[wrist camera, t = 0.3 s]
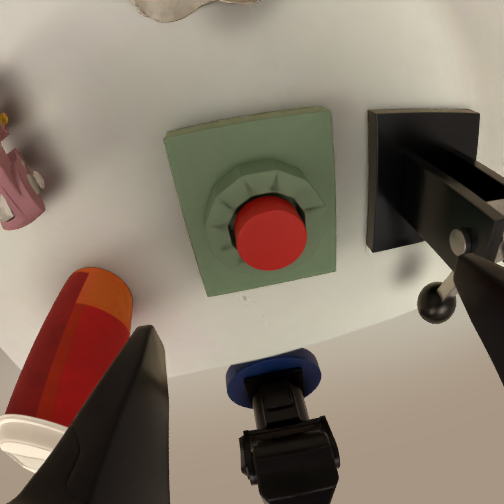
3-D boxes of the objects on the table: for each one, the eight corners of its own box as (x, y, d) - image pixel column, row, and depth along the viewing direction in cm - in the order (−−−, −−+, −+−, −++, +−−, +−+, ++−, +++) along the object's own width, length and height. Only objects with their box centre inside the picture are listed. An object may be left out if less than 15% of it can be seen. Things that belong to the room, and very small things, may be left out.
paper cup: (67, 327, 24) (29, 477, 13) (43, 253, 20) (-35, 422, 9) (152, 332, 26) (143, 497, 14) (143, 255, 21) (110, 457, 10)
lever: (437, 289, 24) (451, 323, 22) (406, 298, 24) (419, 334, 22) (507, 191, 14) (535, 237, 12) (471, 197, 14) (501, 248, 12)
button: (301, 246, 19) (309, 263, 17) (239, 258, 19) (242, 277, 17) (296, 189, 17) (305, 204, 15) (228, 202, 17) (230, 218, 15)
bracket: (456, 224, 24) (528, 298, 16) (365, 244, 23) (431, 341, 15) (469, 109, 18) (573, 159, 10) (367, 110, 18) (476, 165, 10)
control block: (328, 257, 24) (345, 288, 21) (206, 281, 23) (208, 316, 20) (321, 105, 17) (344, 117, 14) (166, 131, 17) (158, 148, 14)
